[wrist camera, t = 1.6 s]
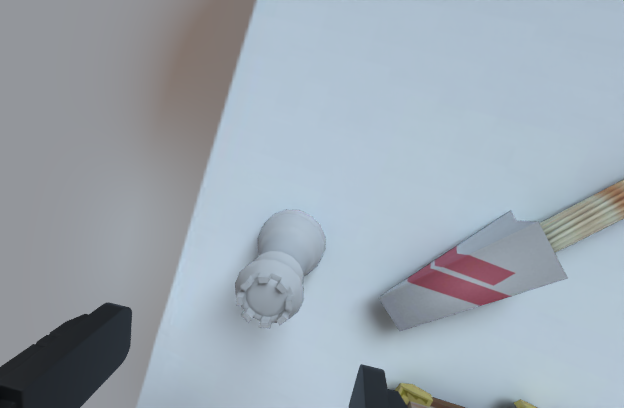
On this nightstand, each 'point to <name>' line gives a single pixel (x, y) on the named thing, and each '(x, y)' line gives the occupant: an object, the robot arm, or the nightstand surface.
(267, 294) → the rook chess piece
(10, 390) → the robot arm
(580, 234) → the grey trowel
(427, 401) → the book
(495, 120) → the nightstand surface
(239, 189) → the nightstand surface
